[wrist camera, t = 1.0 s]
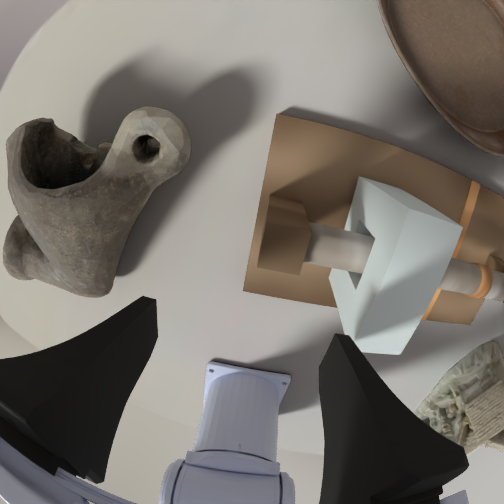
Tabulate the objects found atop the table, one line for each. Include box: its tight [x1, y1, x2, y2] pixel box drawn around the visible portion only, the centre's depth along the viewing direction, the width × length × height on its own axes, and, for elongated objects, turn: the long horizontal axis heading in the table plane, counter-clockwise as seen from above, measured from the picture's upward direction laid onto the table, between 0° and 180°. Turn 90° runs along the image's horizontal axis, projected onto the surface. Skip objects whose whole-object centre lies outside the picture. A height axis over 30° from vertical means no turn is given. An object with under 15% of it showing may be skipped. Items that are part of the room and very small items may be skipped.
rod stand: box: [243, 114, 504, 325], centre depth 15 cm, size 12×22×6 cm, turn 80°
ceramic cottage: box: [413, 341, 504, 454], centre depth 19 cm, size 16×16×15 cm
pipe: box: [3, 106, 191, 297], centre depth 16 cm, size 16×9×15 cm
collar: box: [329, 176, 463, 355], centre depth 13 cm, size 7×3×7 cm, turn 170°
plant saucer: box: [377, 0, 504, 157], centre depth 9 cm, size 18×18×3 cm
